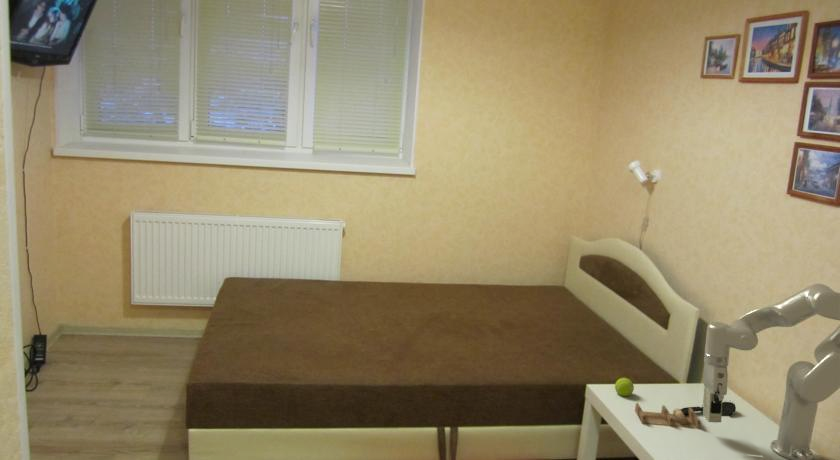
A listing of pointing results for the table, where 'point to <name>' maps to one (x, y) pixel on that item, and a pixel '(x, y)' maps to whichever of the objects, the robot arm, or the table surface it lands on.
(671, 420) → the rack
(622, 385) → the tennis ball
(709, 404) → the skincare box
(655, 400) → the table surface
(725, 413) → the hairbrush
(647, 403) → the table surface
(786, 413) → the robot arm
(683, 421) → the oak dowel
